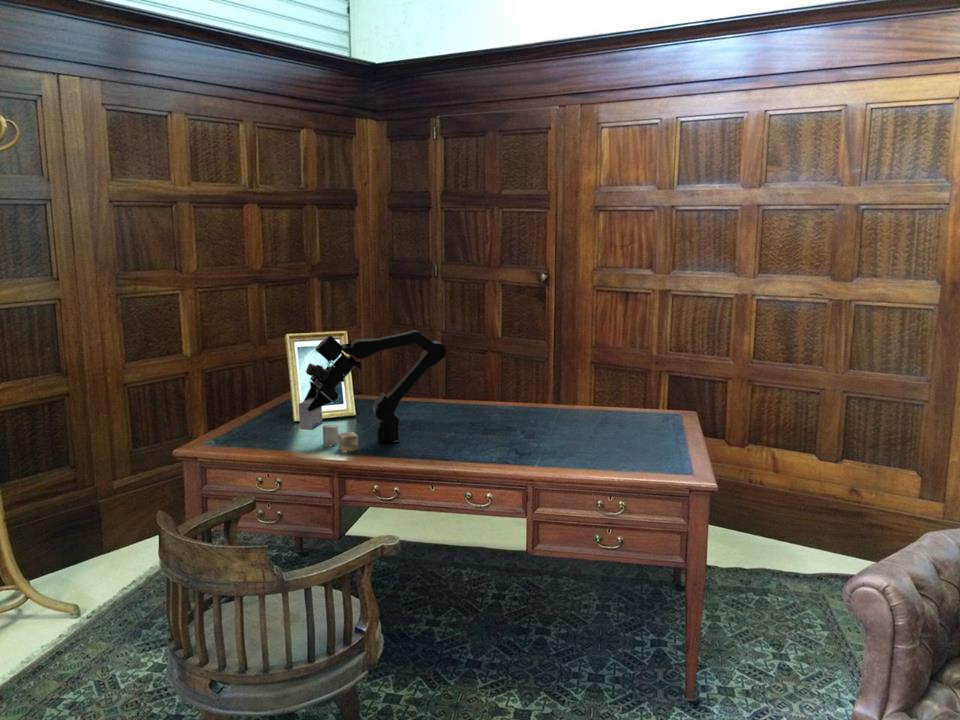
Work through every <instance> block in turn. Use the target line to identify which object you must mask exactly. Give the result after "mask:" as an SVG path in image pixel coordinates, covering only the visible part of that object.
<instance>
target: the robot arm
mask: <svg viewBox="0 0 960 720" xmlns="http://www.w3.org/2000/svg"><path fill="white" fill-rule="evenodd" d="M413 344H415V345H416V346H418V347H420V348H421V349H423V350H422V352H421V354H420V357H419V359H418V360H417V362H415V364H413V366H412V367H411V369H409V370H408V371H407V373H406V374H405V375H404V376H403V377H402V378H401V380H400V381H399V382H398V383H397V384H396V385H395V386H394V387H393V388H392V389H391V390H390V391H389V392H388V393H386V394H385V393H384V392H383V391H381V392H380V394H379V396H378V397H377V398H376V399H374V403H373V405H372V410H373V413H374V415H375V417H376V418H377V419H378V420H379V422H378V423H379V425H378V426H377V440H378V441H379V442H380V441H381V442H393V441H395V440H399V441H400V434H399V431H400V430H399V424H400V423H399V422H400V417H399V416H398V415H397V413H396V410H397V408H398V406H399V404H400V403H401V402H400V401H401V400H402V399H403V398H404V397H405V395H406V394H407V393H408V392H409V391H410V390H411V389H412V387H414V386H415V384H416V383H417V382H418V381H419V380H420V379H421V378H422V377H423V375H424V374H425V373H426V372H427V371H428V370H429V369H430V368H432V367H433V366H436V365H437V364H438V363H440V362H441V361H442V360H444V359H445V358H446V356H447V349H446V346H444V344H442V343H441V342H440V341H438V340H430V338H428V337H426V336H425V335H423V334H421V332H419V331H418V330H415V329H413V330H409V331H407V332H402V333H398V334H397V333H396V334H392V335H387V336H383V337H378V338H355V339H354V340H352V341H351V342H349V343H344V344H340V342H339V341H338V340H336V339H335V338H334V337H333V335H331V334H329V335H328V336H327V337H325V338H324V339H323V340H321V341H320V342H319V344H318V345H317V346H316V347H315V351H316V352H317V353H318V354H319V355H320V356H322V357H323V358H324V359H325V360H326V361H327V362H331V361H332V362H334V363H332V365H331V366H327V367H325V368H324V367H323V366H322V365H319V364H312V363H311V362H310V363H308V365H307V368H306V370H305V373H306V374H307V375H308V376H311V377H310V378H309V385H310V386H309V388H310V389H309V390H308V392H307V393H306V396H305V398H304V399H303V401H305V400H307V399H309V398H314V400H313V401H312V403H311V404H310V406H309V407H308V409H307V410H308V411H312V410H314V409H316V408H319V407H321V406H322V407H323V406H325V405H327V404H330V403H332V402H333V403H334V402H336V400H337V399H338V398H339V394H338V392H337V387H338V386H339V385H340V384H341V383H344V382H345V381H346V380H345V379H346V377H347V376H348V375H349V374H350V373H351V372H352V371H353V369H355V367H356V368H357V369H358V370H362V361H361V360H363V359H366V358H368V357H370V356H373V355H374V354H376V353H379V352H381V351H384V350H390V349H394V348H395V349H396V348H400V347H403V346H408V345H413ZM342 351H343V352H342ZM347 355H349V356H347ZM355 358H356V359H358V360H356V359H355Z"/></svg>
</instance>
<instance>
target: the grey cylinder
mask: <svg viewBox="0 0 960 720" xmlns="http://www.w3.org/2000/svg"><path fill="white" fill-rule="evenodd" d="M338 434H339V425H338V424H336V423H335V424H334V423H333V424H331V423H330V424H323V426H322V442H323V443H322V444H324V445H327V446H326V447H331V446H330V445H336V446H338V445H337V444H338ZM324 445H323V446H324Z"/></svg>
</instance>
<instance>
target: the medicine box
mask: <svg viewBox="0 0 960 720" xmlns="http://www.w3.org/2000/svg"><path fill="white" fill-rule="evenodd" d="M313 400H314V398H309V399H307V400H305V401H304V400H303V401H301V402H300V403H298V414H299V415H298V416H299V428H300V430H304V431H305V430H307V431H314V430H315V429H316V428H318V427H320V426H321V425H323V408H322V407H323V406H321V407H319V408H316V409H314V410H312V411H308V410H307V409H308V407H309V406H310V404H311V403H312V401H313Z"/></svg>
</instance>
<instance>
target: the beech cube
mask: <svg viewBox="0 0 960 720" xmlns="http://www.w3.org/2000/svg"><path fill="white" fill-rule="evenodd" d="M337 446H338V449H339V450H340V449H341V450H342V451H343V452H345V451H353V452H356V451H355V450H358V451H359V436H358V434H356V433H355V432H354V431H351V432H342V433H341V432H340V433H338V445H337ZM341 450H340V451H341ZM342 451H341V452H342ZM343 452H342V453H343ZM345 453H346V452H345Z"/></svg>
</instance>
